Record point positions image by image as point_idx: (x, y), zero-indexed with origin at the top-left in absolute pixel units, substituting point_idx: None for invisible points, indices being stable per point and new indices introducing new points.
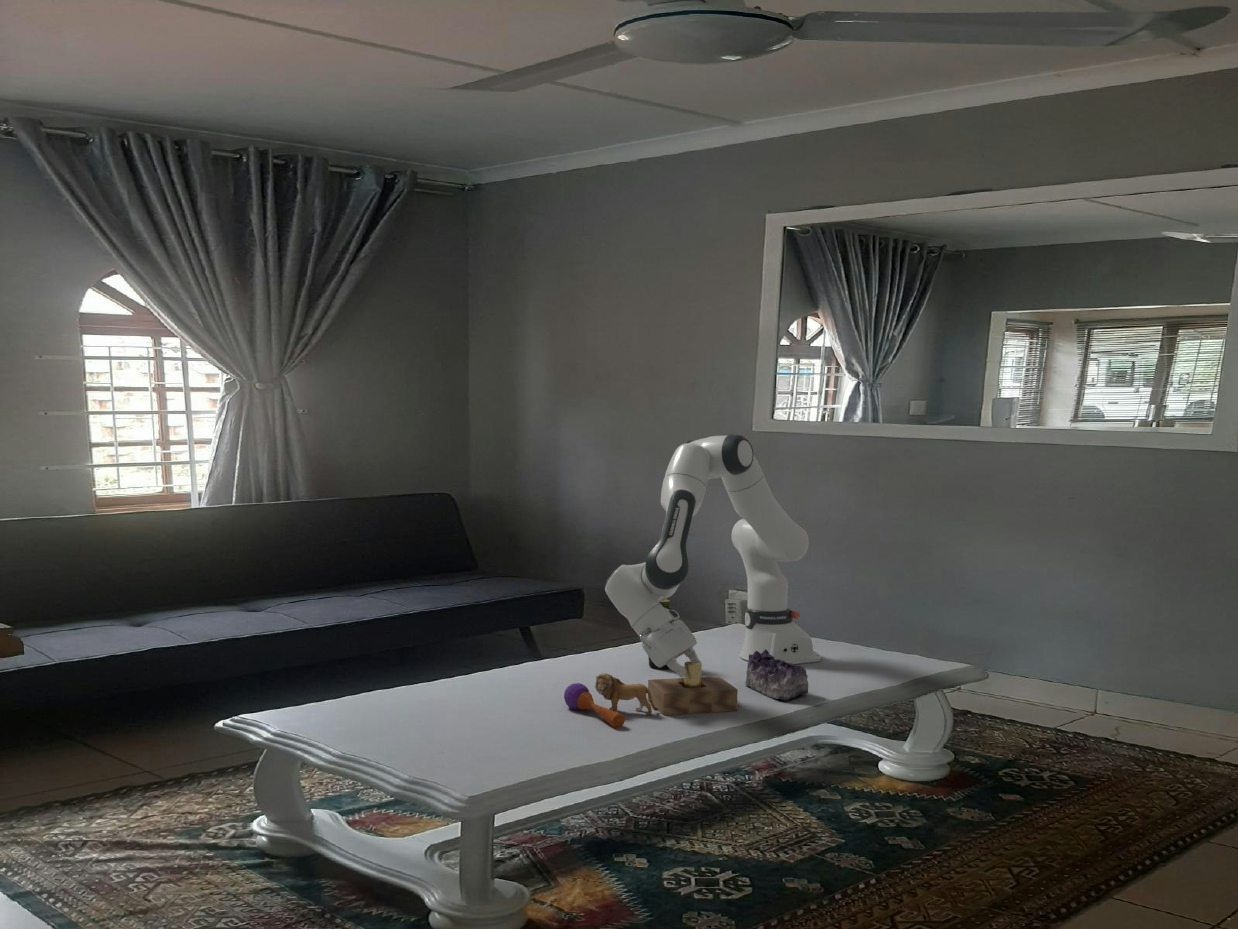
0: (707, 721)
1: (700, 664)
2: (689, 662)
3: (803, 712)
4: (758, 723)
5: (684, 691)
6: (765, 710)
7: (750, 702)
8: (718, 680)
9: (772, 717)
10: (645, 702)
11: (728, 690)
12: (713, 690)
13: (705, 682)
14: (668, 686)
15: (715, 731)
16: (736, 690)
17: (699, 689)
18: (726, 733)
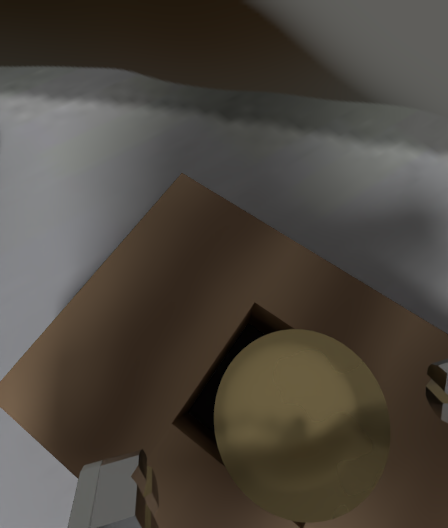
0: (381, 225)
1: (272, 340)
2: (294, 478)
3: (66, 77)
4: (264, 108)
5: (431, 343)
6: (120, 159)
7: (57, 244)
8: (85, 338)
9: (177, 110)
10: None
11: (221, 197)
12: (285, 241)
13: (177, 369)
14: (439, 501)
15: (441, 151)
16: (186, 178)
17: (328, 305)
18: (426, 120)
